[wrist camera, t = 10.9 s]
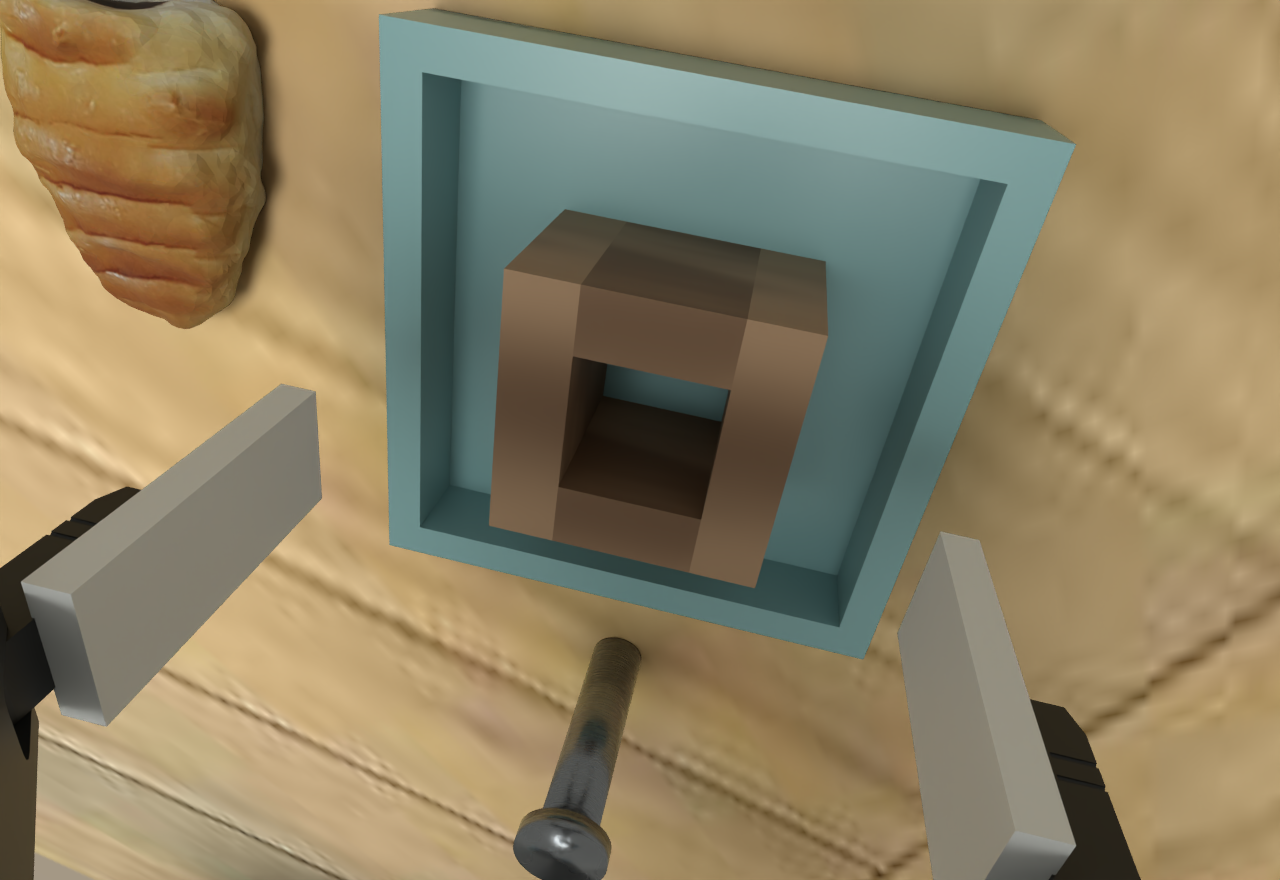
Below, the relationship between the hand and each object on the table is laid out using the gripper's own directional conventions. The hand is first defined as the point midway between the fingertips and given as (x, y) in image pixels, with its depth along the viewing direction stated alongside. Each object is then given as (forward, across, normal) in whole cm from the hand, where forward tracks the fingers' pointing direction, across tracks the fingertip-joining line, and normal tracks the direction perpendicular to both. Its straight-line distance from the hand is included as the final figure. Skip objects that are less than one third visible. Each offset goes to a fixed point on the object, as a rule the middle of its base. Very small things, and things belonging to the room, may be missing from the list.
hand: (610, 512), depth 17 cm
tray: (+8, 0, -1) cm, 8 cm away
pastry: (+9, +15, -4) cm, 18 cm away
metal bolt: (+8, 0, +12) cm, 15 cm away
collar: (+8, 0, 0) cm, 8 cm away
